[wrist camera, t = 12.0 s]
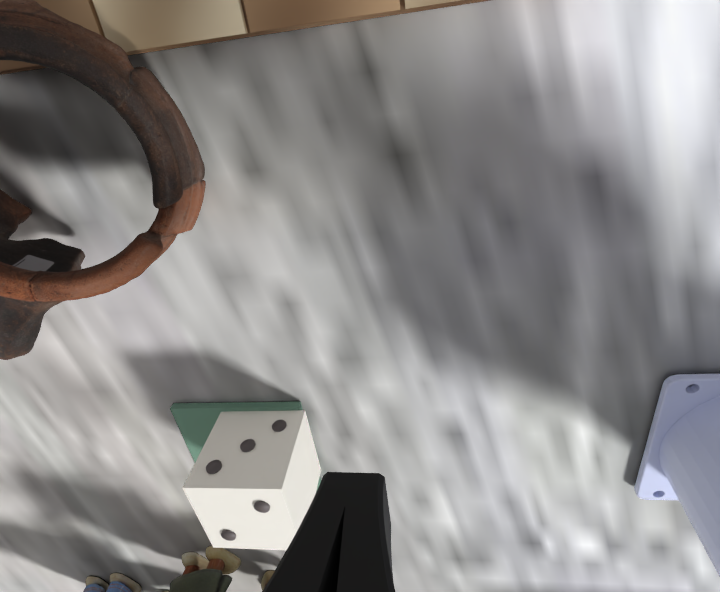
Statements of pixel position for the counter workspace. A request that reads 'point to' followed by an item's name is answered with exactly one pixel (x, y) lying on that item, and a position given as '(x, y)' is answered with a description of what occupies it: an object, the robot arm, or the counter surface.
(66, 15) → the counting strip
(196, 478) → the die
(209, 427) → the felt mat
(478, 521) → the counter surface
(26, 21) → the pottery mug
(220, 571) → the doll family
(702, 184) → the counter surface
